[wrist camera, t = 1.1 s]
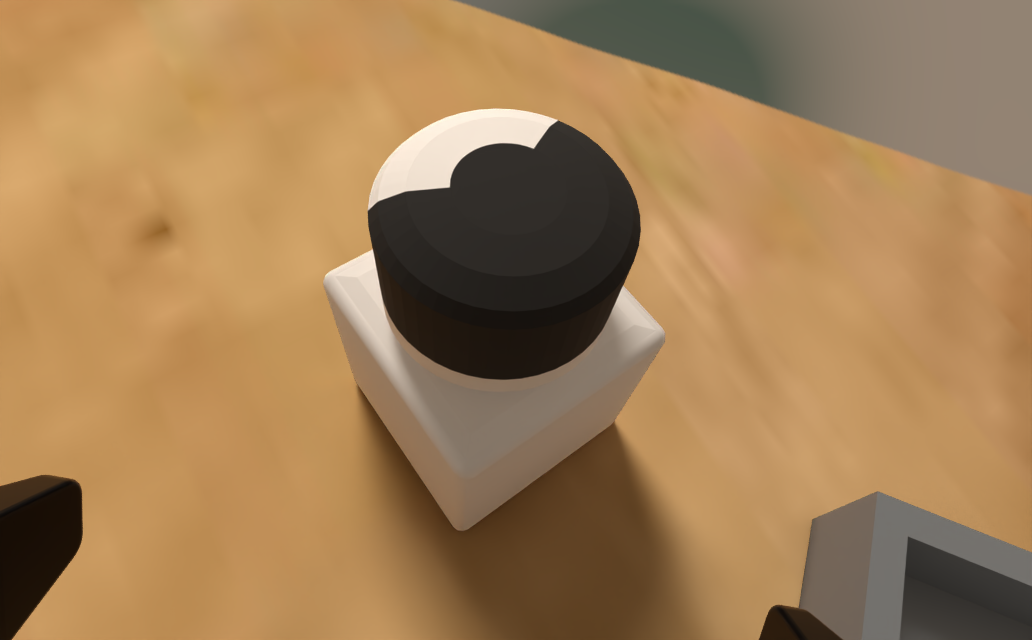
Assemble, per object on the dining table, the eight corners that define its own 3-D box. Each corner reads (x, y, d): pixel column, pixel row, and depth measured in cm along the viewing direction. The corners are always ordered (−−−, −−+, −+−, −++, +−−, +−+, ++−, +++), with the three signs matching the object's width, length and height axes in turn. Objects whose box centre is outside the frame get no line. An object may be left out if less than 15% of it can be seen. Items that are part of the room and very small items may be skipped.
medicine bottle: (617, 422, 24) (743, 227, 14) (459, 537, 22) (465, 408, 11) (504, 287, 26) (539, 34, 16) (351, 376, 24) (273, 146, 14)
